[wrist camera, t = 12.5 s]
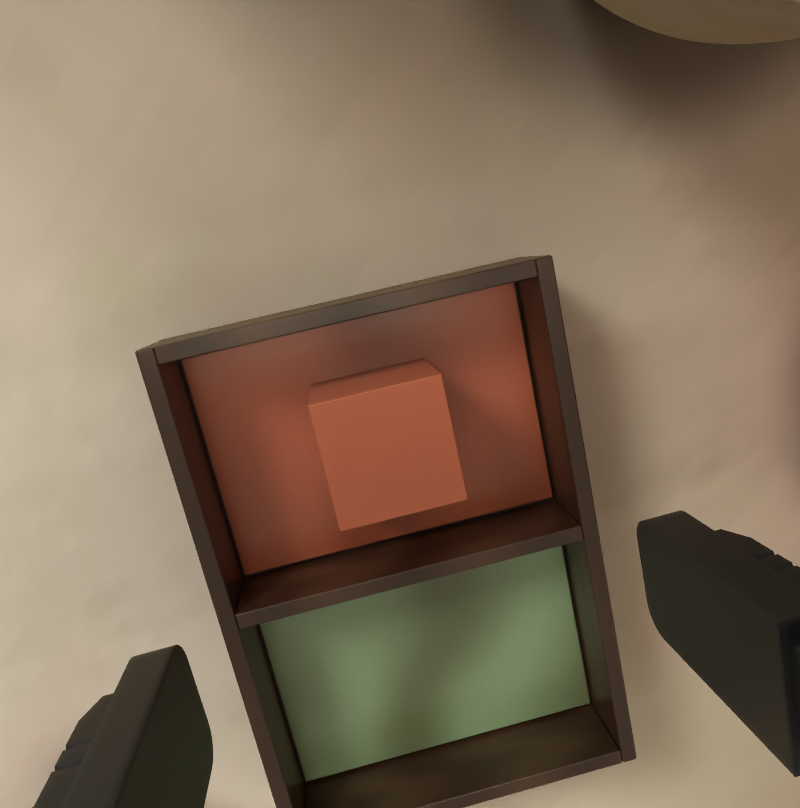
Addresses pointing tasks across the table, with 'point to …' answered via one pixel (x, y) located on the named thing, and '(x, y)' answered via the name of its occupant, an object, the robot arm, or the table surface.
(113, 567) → the table surface
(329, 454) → the terracotta block
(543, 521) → the sorting tray
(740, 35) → the planter bowl
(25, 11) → the table surface
